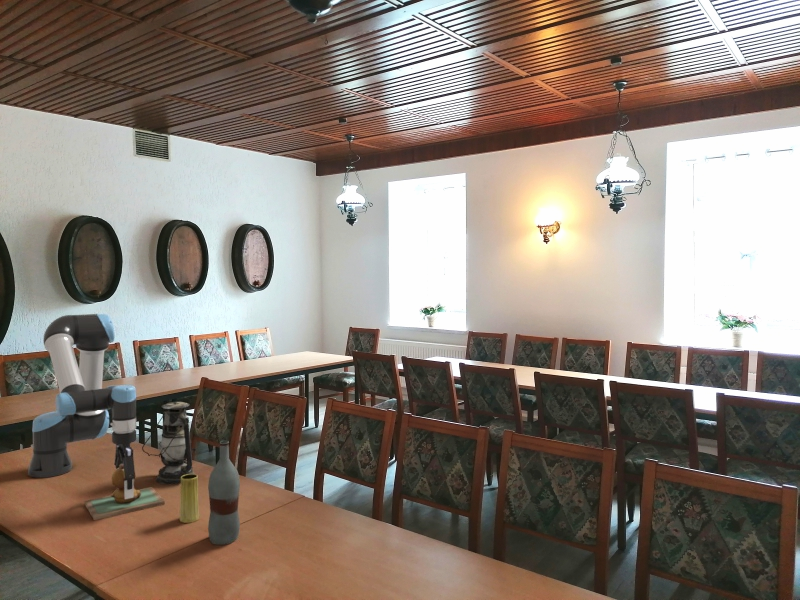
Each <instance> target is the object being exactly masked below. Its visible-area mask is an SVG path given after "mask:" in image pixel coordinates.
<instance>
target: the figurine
mask: <svg viewBox="0 0 800 600" xmlns="http://www.w3.org/2000/svg"><path fill="white" fill-rule="evenodd" d="M130 476H131V475H130ZM136 476H137V475H136V474H135V479H134V483H135V481H136ZM124 478H125V473H124V466H123V464H120V465H119V468H118V469H116V468H115V470H114V471H113V473H112V476H111V484H112V485H113V486H114V487H113V488H115V490H114V491H113V492H112V493H111V494H110V496H111V497H114V499H115V501H116V502H117V503H120V504H123V503H130V502H133V501H135V500H136V499H138V498H139V497H140V495H141V492H140V491H139V490H140V489H136V488H134V497H133V498H129V499H125V497H124V481H123V479H124Z"/></svg>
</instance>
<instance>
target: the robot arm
mask: <svg viewBox="0 0 800 600" xmlns="http://www.w3.org/2000/svg"><path fill="white" fill-rule="evenodd" d="M115 337H116V336H115V327H114V323H113V321H112V318H111V317H110V316H109V315H108V314H105V313H103V314H102V313H99V314H98V313H94V314H93V313H90V314H87V313H86V314H65V315H62V316H59V317H58V318H55V319H54V320H53V321H52V322H50V324H49V325H48V326H47V328H46V329H45V332H44V334H43V338H42V339H43V346H44V349H45V350H46V352H48V353H49V355H50V360H51V364H52V367H53V371H54V375H55V378H56V381H57V387H58V390H59V393H57V394H56V396H55V400H54V401H55V402H54V403H55V411H54V410H53V411H50V412H45V413H42V414H39V415H38V416H36V417H35V418H34V419H33V420H32V429H31V431H32V457H31V460H30V462H29V465H28V469H27V476H29V477H30V478H35V479H36V478H37V479H38V478H40V479H42V478H52V477H56V476H61V475H64V474H66V473H69V472H70V471H72V470H73V461H72V459H71V457H70V454H69V452H68V444H69V443H76V442H83V441H88V440H95V439H99V438H103V437H104V436H105V435H106V434H107V433H108V429H109V425H110V426H111V428H112V429H111V430H112V431H113V432H112V433H111V442H112V443H113V444H114V445H115V454H114V455H115V456H114V464H113V465H114V466H115V470H116V469H118V468H119V465H120V464H123V466H124V473H125V478H124V479H123V481H124V497H125V499H129V498H133V497H134V489H135V486H134V484H135V482H134V479H135V480H136V477H135V475H136V469H135V461H134V449H133V448H132V446H131V444H132V443H135V442H136V441H137V430H136V429H137V392H136V391H137V389H136V387H135V386H134V385H133V384H131V385H130V384H121V385H119V384H118V385H108V386H107V387H105V388H103V379H104V378H103V374H104V360H105V351H107V350H108V349H109V347H110V346H109V345H110V344H111V343H114V341H115ZM74 346H75V348H76V349H77V350H78V351H79V363H78V361H77V358H76V354H75V351H74V348H73V347H74ZM108 410H111V420H112V422H110V415H109V411H108ZM130 475H131V476H130Z"/></svg>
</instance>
